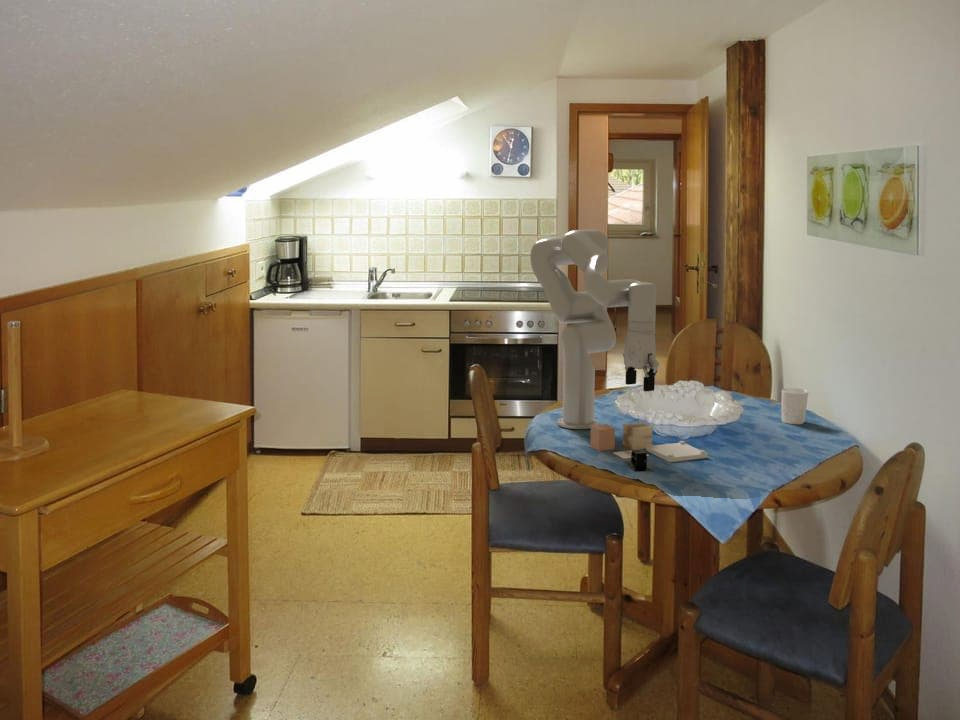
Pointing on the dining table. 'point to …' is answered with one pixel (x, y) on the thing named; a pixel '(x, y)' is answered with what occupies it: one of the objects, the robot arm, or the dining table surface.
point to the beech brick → (637, 435)
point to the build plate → (676, 451)
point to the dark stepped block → (638, 461)
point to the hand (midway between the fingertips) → (639, 387)
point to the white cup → (794, 405)
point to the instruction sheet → (624, 454)
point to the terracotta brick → (602, 437)
